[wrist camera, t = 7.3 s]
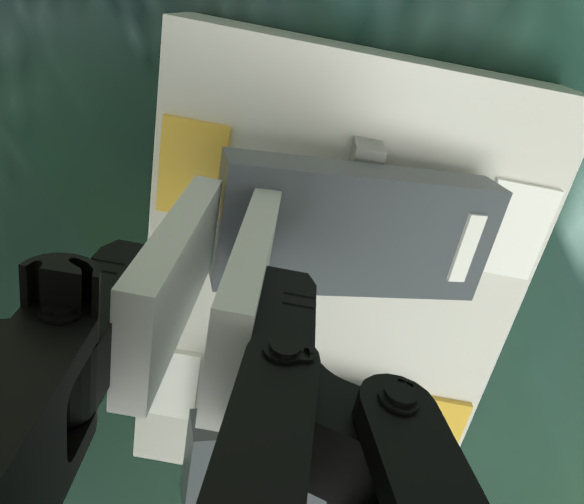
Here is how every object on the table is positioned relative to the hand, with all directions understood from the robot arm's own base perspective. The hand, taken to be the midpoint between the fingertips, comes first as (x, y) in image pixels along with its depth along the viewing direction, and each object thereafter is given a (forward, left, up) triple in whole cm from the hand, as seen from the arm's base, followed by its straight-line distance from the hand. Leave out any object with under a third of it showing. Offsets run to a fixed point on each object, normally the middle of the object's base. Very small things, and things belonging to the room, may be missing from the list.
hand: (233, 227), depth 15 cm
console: (+4, -5, -9) cm, 11 cm away
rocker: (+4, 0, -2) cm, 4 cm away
